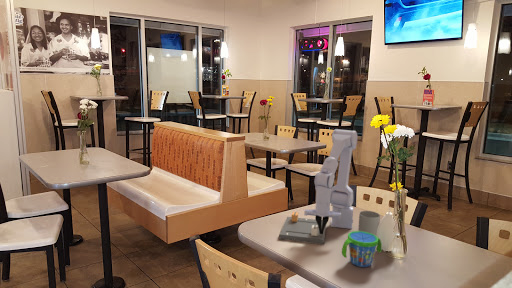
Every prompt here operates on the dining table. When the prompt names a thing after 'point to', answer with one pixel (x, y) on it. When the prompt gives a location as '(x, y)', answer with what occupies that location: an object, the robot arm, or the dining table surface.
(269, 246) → the dining table surface
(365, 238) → the snack cup
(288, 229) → the console
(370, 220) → the cup
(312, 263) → the dining table surface
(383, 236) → the sauce bottle
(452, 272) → the dining table surface
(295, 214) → the block
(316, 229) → the block
